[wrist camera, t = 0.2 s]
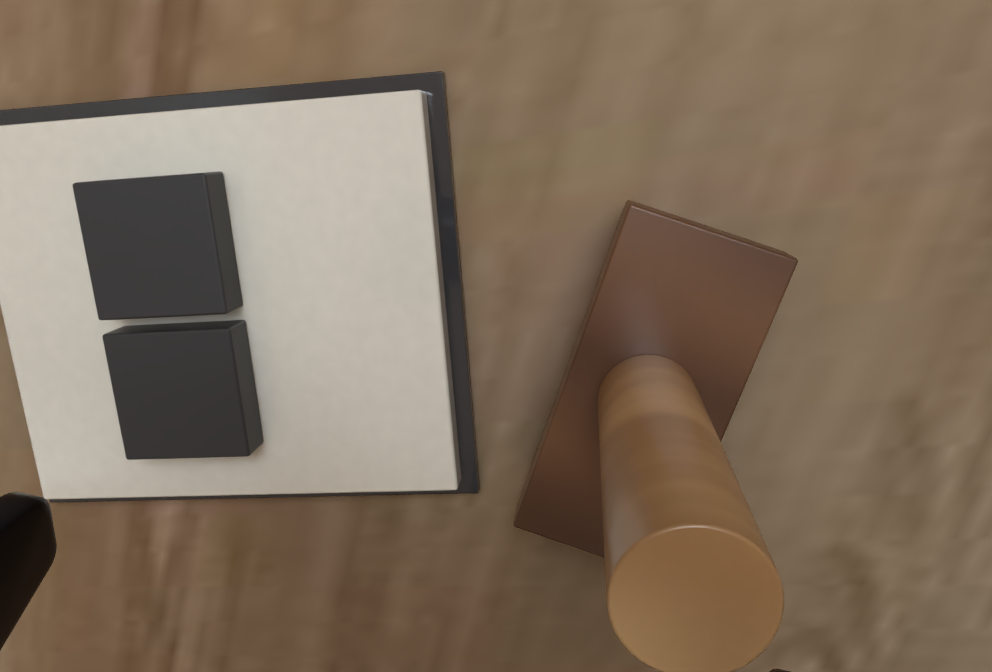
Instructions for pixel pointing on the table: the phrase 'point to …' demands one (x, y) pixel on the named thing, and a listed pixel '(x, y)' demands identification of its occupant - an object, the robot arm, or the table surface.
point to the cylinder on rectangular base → (665, 442)
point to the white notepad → (258, 287)
